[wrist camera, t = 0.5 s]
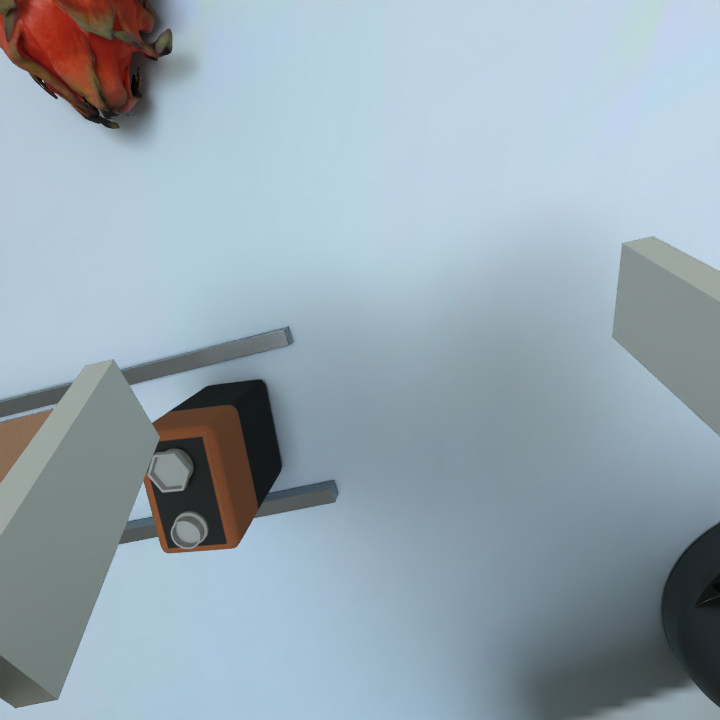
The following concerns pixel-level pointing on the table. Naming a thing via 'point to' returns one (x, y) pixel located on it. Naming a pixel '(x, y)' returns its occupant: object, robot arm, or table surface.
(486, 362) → the table surface
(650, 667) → the table surface
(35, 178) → the table surface
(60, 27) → the dragon fruit
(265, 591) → the table surface
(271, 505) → the rail
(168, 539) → the battery
